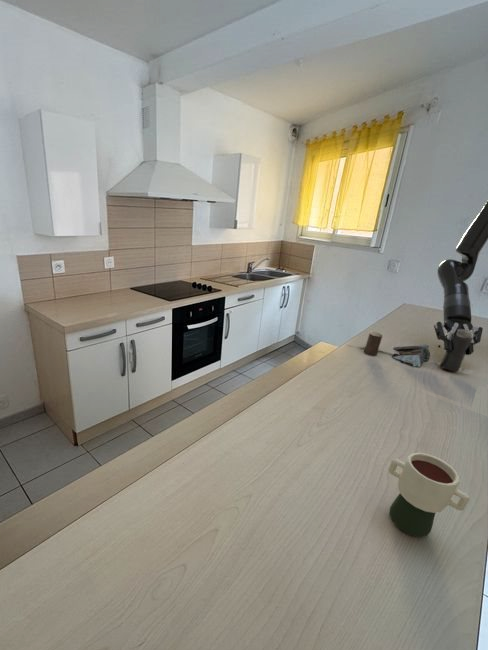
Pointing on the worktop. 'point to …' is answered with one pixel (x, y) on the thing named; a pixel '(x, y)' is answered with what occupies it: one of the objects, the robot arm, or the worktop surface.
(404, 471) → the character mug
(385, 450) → the worktop surface
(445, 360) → the pepper mill
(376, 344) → the cylinder
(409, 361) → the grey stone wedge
